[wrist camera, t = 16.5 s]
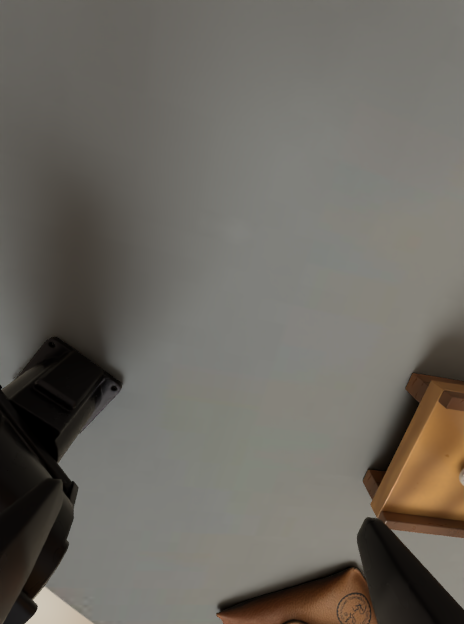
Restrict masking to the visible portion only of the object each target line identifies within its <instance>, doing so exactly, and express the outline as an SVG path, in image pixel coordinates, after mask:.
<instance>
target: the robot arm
mask: <svg viewBox="0 0 464 624" xmlns="http://www.w3.org/2000/svg"><path fill="white" fill-rule="evenodd" d="M52 342H53V343H55V345H56V346H55V345H53V344H52ZM113 386H116V387H117V388H114V387H113ZM1 388H2V387H1V385H0V624H25V623H26V622H27V621H28V620H29V619H30V618H31V617H32V616H33V615H34V614H35V612H36V610H37V607H38V606H37V605H36V603H35V602H34V601H33V599H34V598H35V597H36V596H37V595H38V593H39V592H40V591H41V590H42V588H43V587H44V586H45V585H46V583H47V582H48V580H49V579H50V577H51V576H52V574H53V573H54V572H55V570H56V569H57V567H58V566H59V564H60V562H61V560H62V558H63V557H64V555H65V553H66V551H67V549H68V546H69V542H68V541H67V540H66V539H67V537H68V534H69V531H70V528H71V525H72V522H73V519H74V504H75V500H76V496H77V492H78V486H77V485H76V484H75V482H74V481H72V482H71V480H70V479H69V478H68V476H67V475H66V474H65V473H64V471H63V470H62V469H61V467H60V466H59V465H58V462H59V461H60V460H61V458H62V457H63V455H64V454H65V452H66V451H67V450H68V448H69V447H70V445H71V444H72V443H73V441H74V440H75V438H76V437H77V435H78V434H80V433H81V432H82V431H83V430H84V429H85V428H86V426H87V425H88V424H89V423H90V422H91V421H92V420H93V419H94V418H95V417H96V416H97V415H98V414H99V413H100V412H101V411H102V410H103V409H104V408H105V406H106V405H107V404H108V403H109V402H110V401H111V400H112V399H113V398H114V397H115V396H116V395H117V394H118V393H119V392H120V390H121V388H122V384H121V382H120V381H118V380H117V379H115V378H114V377H113V376H111V375H110V374H108V373H107V372H106V371H104V370H103V369H101V368H100V367H98V366H97V365H96V364H94V363H93V362H91V361H90V360H89V359H87V358H86V357H84V356H83V355H82V354H80V353H79V352H77V351H76V350H75V349H73V348H72V347H70V346H69V345H68V344H66V343H65V342H63V341H62V340H61V339H59V338H57V337H51V338H49V339H48V340H47V341H46V342H45V343H44V344H43V345H42V347H41V348H40V349H39V350H38V352H37V353H36V354H35V355H34V357H33V358H32V359H31V360H30V362H29V363H28V364H27V366H26V367H25V368H24V369H23V371H22V372H21V373H20V374H19V376H18V377H17V378H16V379H15V380H14V381H12V382H11V383H10V384H8V385H7V386H6V387H4V388H3V389H2V390H1ZM357 544H358V548H359V552H360V556H361V561H362V565H363V569H364V573H365V577H366V581H367V585H368V590H369V594H370V598H371V602H372V606H373V609H374V613H375V616H376V620H377V623H378V624H464V610H463V608H462V607H461V606H460V605H459V604H458V603H457V602H456V601H455V600H454V599H453V597H452V596H451V595H450V594H449V593H448V592H447V591H446V590H445V589H444V588H443V587H442V585H441V584H440V583H439V582H438V581H437V580H436V579H435V578H434V577H433V576H432V574H431V573H430V572H429V571H428V570H427V569H426V568H425V567H424V566H423V565H422V564H421V562H420V561H419V560H418V559H417V558H416V557H415V556H414V555H413V554H412V553H411V552H410V550H409V549H408V548H407V547H406V546H405V545H404V544H403V543H402V542H401V541H400V539H399V538H398V537H397V536H396V535H395V534H394V533H393V532H392V531H391V530H390V529H389V527H388V526H387V525H386V524H385V523H384V522H383V521H382V520H380V519H378V518H370V517H367V518H366V519H365V520H364V522H363V524H362V526H361V528H360V530H359V532H358V535H357Z"/></svg>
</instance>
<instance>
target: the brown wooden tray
mask: <svg viewBox="0 0 464 624" xmlns="http://www.w3.org/2000/svg"><path fill="white" fill-rule="evenodd" d="M406 390H407V391H408V392H409V393H410V394H411V395H412V396H413V397H414V398H415V399H416V400H417V401H418V402H419V403H420V404H419V406H418V408H417V410H416V412H415V414H414V416H413V418H412V420H411V423H410V425H409V427H408V429H407V431H406V433H405V435H404V437H403V439H402V441H401V443H400V445H399V447H398V449H397V451H396V453H395V455H394V457H393V459H392V461H391V463H390V465H389V467H388V469H387V471H386V472H385V471H377V470H370V469H369V470H368V471H367V473H366V475H365V478H364V480H363V483H364V485H365V487H366V489H367V491H368V493H369V495H370V497H371V499H372V502H371V504H370V505H371V507H372V509H373V511H374V513H375V515H376V517H377V518H378V519H380V520H382V521H383V522H384V523H385V524H386V525H387V526H388V527H389V529H392V530H400V531H409V532H417V533H426V534H434V535H443V536H451V537H459V538H464V486H463V485H462V483H461V482H460V480H459V475H460V472H461V471H462V470H463V469H464V381H460V380H453V379H447V378H441V377H435V376H429V375H423V374H416V373H412V375H411V378H410V380H409V382H408V384H407V386H406Z"/></svg>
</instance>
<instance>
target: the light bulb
mask: <svg viewBox="0 0 464 624" xmlns="http://www.w3.org/2000/svg"><path fill="white" fill-rule="evenodd" d="M459 480H460V482H461V483H462V485H463V486H464V469H463V470H462V471H461V472H460V475H459Z"/></svg>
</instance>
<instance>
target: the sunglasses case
mask: <svg viewBox="0 0 464 624" xmlns="http://www.w3.org/2000/svg"><path fill="white" fill-rule="evenodd" d="M216 615H217V617H219V618H220V619H221V620H222V621H223V624H378V623H377V620H376V616H375V613H374V609H373V606H372V602H371V598H370V594H369V590H368V585H367V581H366V579H365V578H364V576H363V575H362V574H361V572H360V571H359V569H358V568H355V567H351V568H348V569H346V570H344V571H341V572H339V573H337V574H334V575H332V576H329V577H326V578H323V579H319V580H315V581H311V582H308V583H305V584H302V585H299V586H295V587H292V588H288V589H285V590H282V591H278V592H274V593H270V594H266V595H263V596H260V597H257V598H254V599H251V600H248V601H245V602H243V603H240V604H238V605H235V606H233V607H231V608H228V609H226V610H224V611H221V612H219V613H217V614H216Z"/></svg>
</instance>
